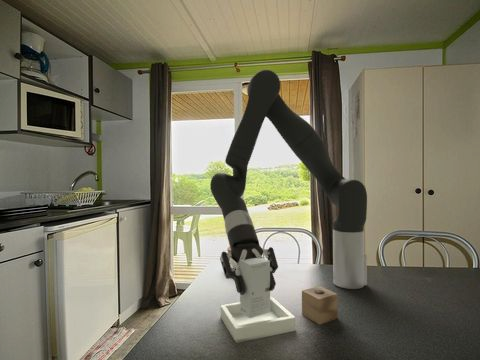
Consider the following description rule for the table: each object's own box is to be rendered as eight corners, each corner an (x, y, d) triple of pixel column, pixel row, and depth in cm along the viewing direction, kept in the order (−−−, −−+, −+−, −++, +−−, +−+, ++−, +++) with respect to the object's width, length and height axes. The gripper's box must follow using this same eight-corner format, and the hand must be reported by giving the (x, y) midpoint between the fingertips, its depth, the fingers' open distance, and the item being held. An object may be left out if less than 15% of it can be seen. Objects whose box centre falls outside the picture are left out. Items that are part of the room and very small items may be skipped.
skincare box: (250, 319, 66) (249, 265, 65) (239, 311, 69) (238, 260, 69) (271, 312, 69) (271, 260, 69) (259, 305, 73) (259, 256, 73)
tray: (272, 308, 77) (272, 296, 77) (295, 330, 66) (295, 317, 66) (220, 317, 72) (220, 305, 72) (236, 343, 61) (235, 328, 61)
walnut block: (319, 309, 77) (319, 285, 76) (337, 318, 71) (337, 293, 71) (302, 314, 74) (301, 290, 74) (319, 324, 68) (319, 298, 68)
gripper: (216, 224, 74) (231, 288, 63) (269, 221, 78) (291, 280, 67) (211, 241, 79) (224, 303, 68) (261, 237, 83) (280, 294, 72)
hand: (257, 291), depth 68 cm, fingers closed on skincare box, 6 cm apart
